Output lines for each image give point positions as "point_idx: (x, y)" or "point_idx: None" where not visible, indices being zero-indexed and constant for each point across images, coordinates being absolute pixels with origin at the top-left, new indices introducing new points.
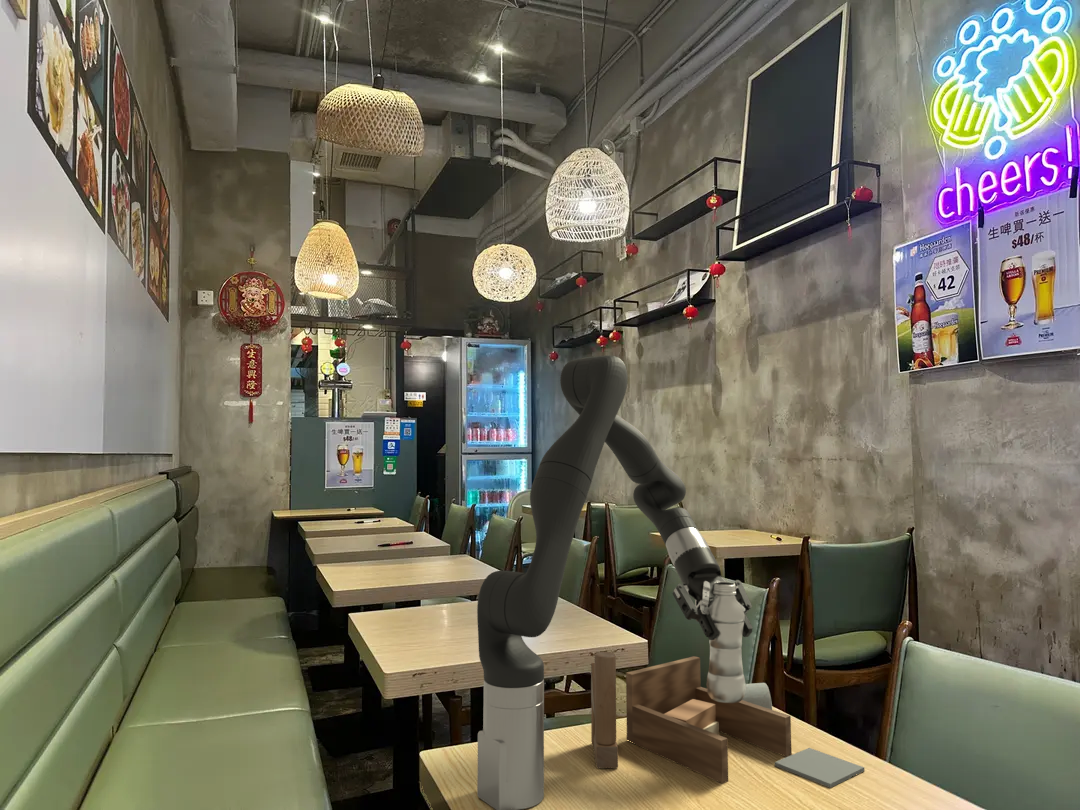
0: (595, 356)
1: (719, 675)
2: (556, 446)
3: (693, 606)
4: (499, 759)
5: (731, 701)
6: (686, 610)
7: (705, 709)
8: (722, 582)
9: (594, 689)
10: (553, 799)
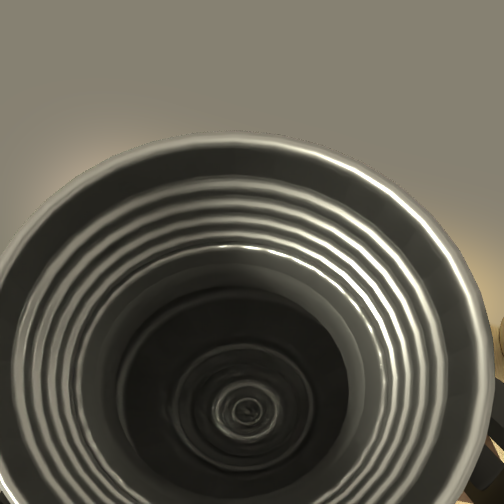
0: None
1: (287, 380)
2: None
3: (493, 401)
4: None
5: (256, 372)
6: (480, 464)
7: None
8: None
9: (498, 457)
10: (492, 329)
